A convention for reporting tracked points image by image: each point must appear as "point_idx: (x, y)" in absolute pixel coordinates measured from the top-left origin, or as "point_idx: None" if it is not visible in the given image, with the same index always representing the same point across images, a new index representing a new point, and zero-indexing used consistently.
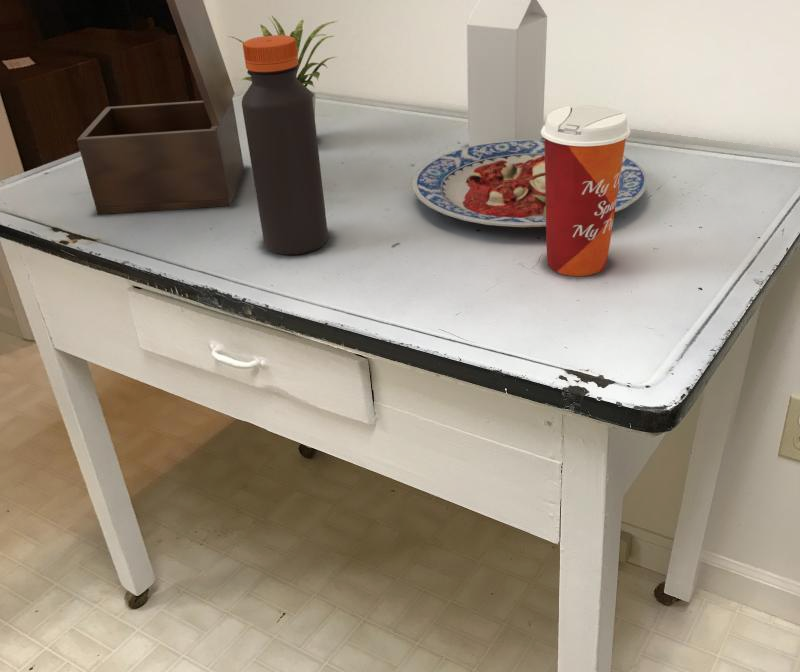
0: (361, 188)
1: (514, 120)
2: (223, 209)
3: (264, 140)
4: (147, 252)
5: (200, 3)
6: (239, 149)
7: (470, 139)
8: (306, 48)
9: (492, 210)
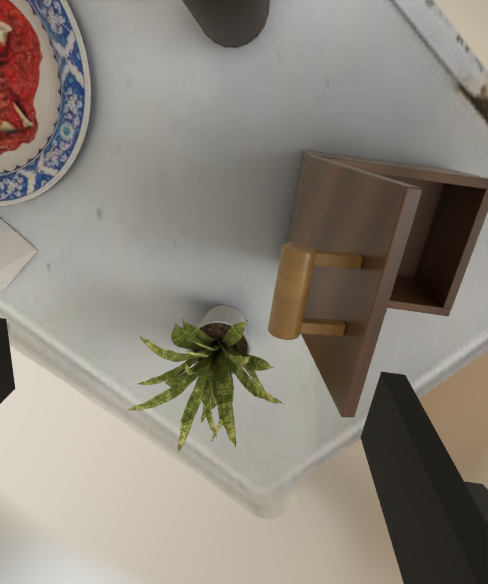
0: (156, 159)
1: None
2: (311, 141)
3: None
4: (403, 28)
5: (318, 337)
6: None
7: (30, 250)
8: (178, 360)
9: (5, 6)
